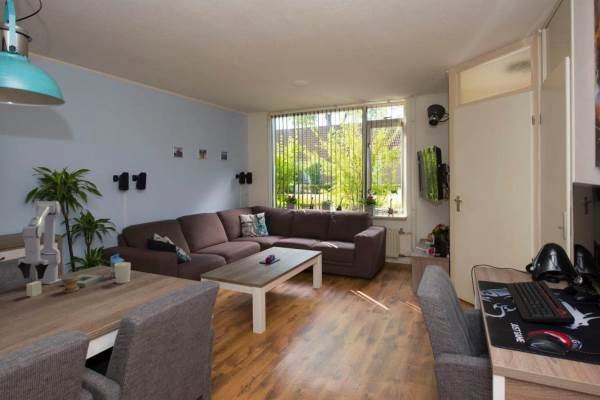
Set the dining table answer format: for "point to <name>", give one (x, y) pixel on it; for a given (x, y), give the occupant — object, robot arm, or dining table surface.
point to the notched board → (87, 280)
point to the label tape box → (115, 261)
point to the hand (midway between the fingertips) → (33, 278)
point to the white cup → (122, 272)
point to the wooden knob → (70, 284)
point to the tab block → (34, 288)
